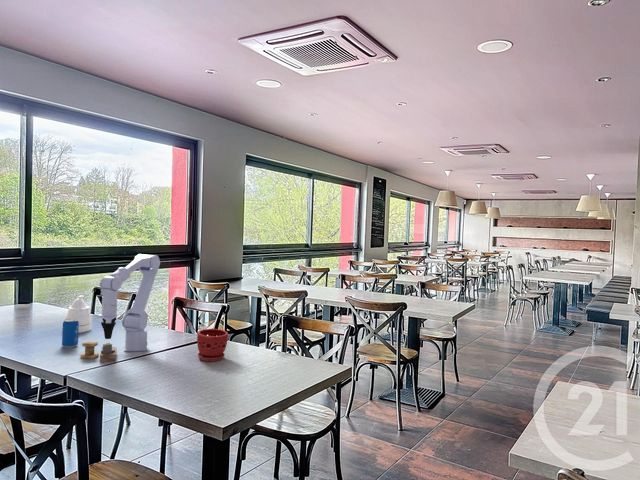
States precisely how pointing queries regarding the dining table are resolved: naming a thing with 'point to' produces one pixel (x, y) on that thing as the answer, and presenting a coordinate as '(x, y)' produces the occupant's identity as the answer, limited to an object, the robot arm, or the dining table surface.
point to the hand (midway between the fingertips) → (108, 336)
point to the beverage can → (70, 333)
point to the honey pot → (80, 314)
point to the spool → (89, 350)
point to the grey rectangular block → (107, 348)
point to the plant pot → (211, 344)
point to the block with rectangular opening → (108, 355)
